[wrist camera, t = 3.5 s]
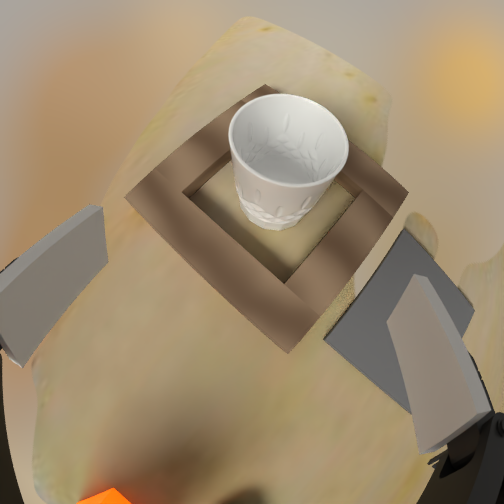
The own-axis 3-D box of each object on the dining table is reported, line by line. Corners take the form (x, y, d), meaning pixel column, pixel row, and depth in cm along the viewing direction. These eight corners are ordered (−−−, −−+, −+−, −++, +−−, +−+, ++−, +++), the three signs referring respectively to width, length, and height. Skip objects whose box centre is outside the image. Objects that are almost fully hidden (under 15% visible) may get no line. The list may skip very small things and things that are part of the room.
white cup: (302, 248, 25) (338, 205, 15) (220, 221, 25) (208, 163, 15) (321, 178, 27) (354, 114, 17) (248, 154, 27) (251, 82, 17)
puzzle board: (263, 95, 29) (265, 84, 27) (399, 200, 26) (408, 192, 25) (131, 205, 25) (124, 197, 23) (284, 351, 22) (287, 354, 21)
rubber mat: (401, 230, 26) (404, 228, 25) (471, 310, 24) (474, 310, 23) (323, 339, 23) (325, 339, 22) (410, 414, 21) (413, 415, 20)
